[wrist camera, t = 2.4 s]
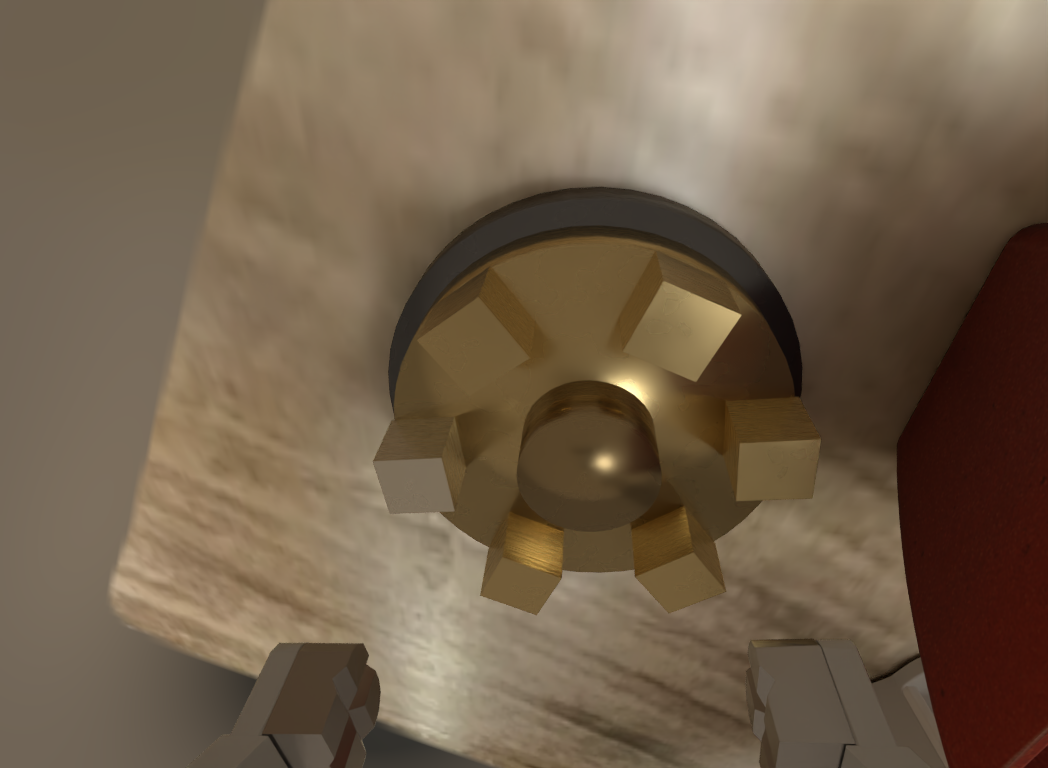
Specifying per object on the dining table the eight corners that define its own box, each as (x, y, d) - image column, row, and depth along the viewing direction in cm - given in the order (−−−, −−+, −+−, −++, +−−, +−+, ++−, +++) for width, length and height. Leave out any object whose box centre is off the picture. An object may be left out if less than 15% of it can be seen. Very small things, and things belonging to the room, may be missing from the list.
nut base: (811, 161, 26) (830, 175, 24) (774, 517, 36) (784, 546, 34) (354, 212, 29) (336, 227, 27) (440, 527, 39) (433, 555, 37)
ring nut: (799, 203, 24) (848, 251, 20) (766, 532, 34) (795, 618, 29) (365, 247, 27) (319, 299, 22) (446, 542, 36) (425, 621, 32)
